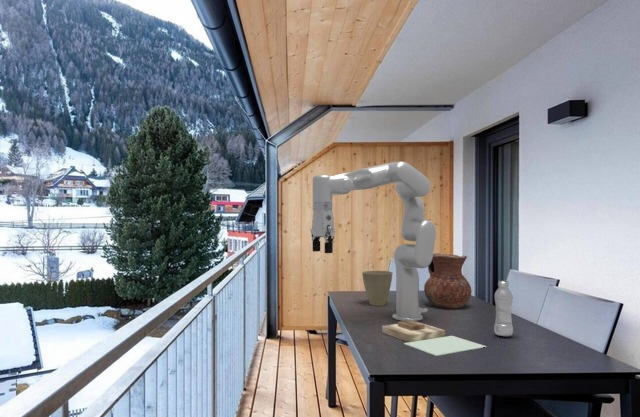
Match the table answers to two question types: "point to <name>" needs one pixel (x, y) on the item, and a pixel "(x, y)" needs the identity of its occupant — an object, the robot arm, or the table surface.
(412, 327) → the walnut tile
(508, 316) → the plastic bottle
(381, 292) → the plant pot
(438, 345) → the sage mat
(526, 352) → the table surface
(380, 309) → the table surface
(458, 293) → the jug
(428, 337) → the board
